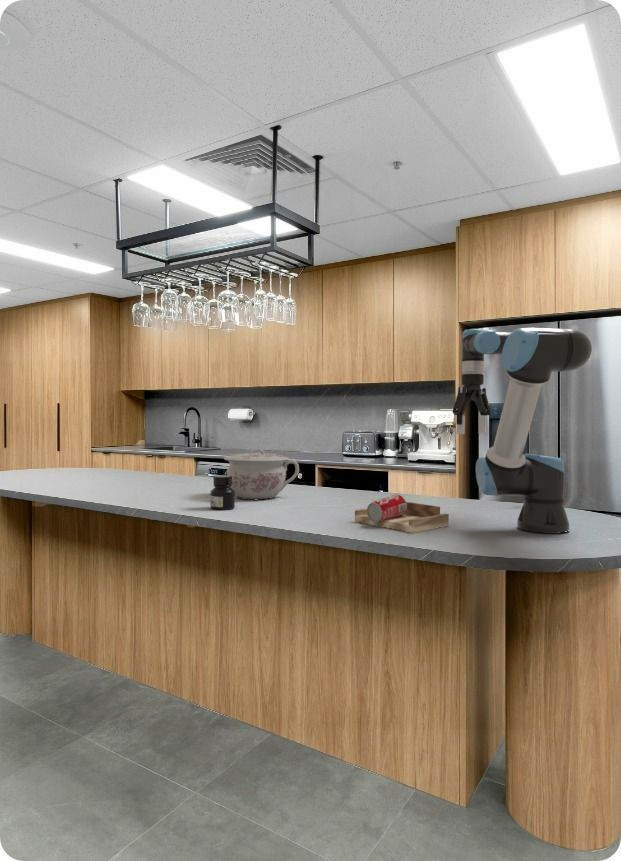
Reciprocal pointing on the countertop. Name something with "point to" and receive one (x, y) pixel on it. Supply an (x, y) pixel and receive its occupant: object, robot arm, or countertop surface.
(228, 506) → the ink bottle
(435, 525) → the wooden tray
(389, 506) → the soda can
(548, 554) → the countertop surface
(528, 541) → the countertop surface
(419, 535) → the countertop surface
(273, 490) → the chamber pot
